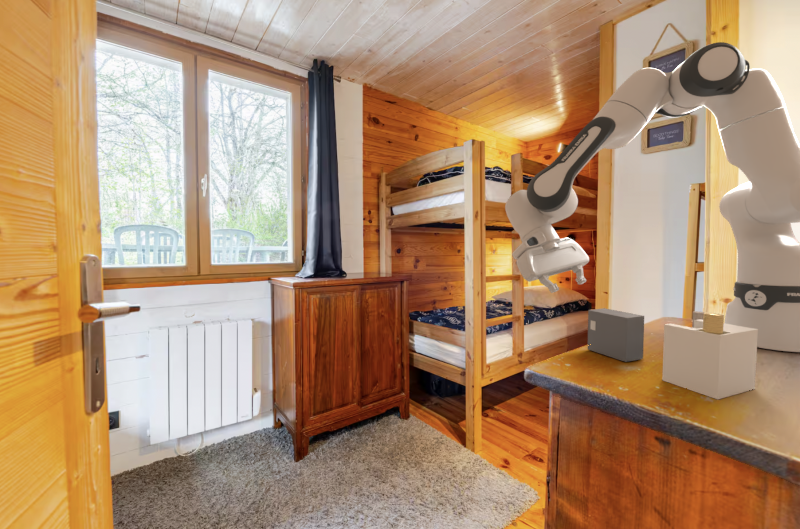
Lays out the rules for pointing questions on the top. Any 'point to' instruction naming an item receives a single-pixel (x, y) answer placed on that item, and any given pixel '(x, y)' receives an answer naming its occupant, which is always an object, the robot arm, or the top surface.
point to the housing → (710, 359)
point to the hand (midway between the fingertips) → (569, 287)
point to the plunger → (713, 323)
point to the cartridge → (616, 334)
